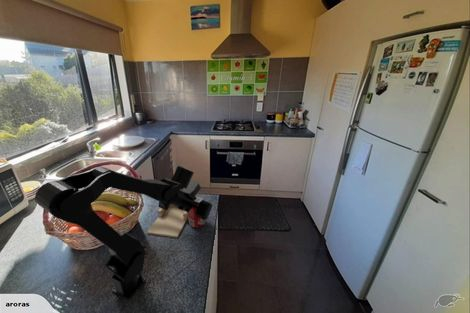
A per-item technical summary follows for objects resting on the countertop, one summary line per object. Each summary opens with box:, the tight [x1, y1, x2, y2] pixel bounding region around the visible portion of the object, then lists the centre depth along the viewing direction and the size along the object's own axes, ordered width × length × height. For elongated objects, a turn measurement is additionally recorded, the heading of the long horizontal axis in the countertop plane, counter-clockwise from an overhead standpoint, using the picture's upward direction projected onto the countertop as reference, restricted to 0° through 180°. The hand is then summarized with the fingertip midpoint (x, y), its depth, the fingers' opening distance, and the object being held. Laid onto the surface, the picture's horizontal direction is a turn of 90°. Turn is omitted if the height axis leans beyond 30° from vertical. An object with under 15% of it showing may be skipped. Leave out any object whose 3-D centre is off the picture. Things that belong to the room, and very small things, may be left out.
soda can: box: [188, 194, 206, 228], centre depth 82 cm, size 7×7×12 cm
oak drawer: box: [146, 205, 189, 238], centre depth 85 cm, size 19×12×7 cm, turn 172°
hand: (199, 208), depth 83 cm, fingers closed on soda can, 7 cm apart
